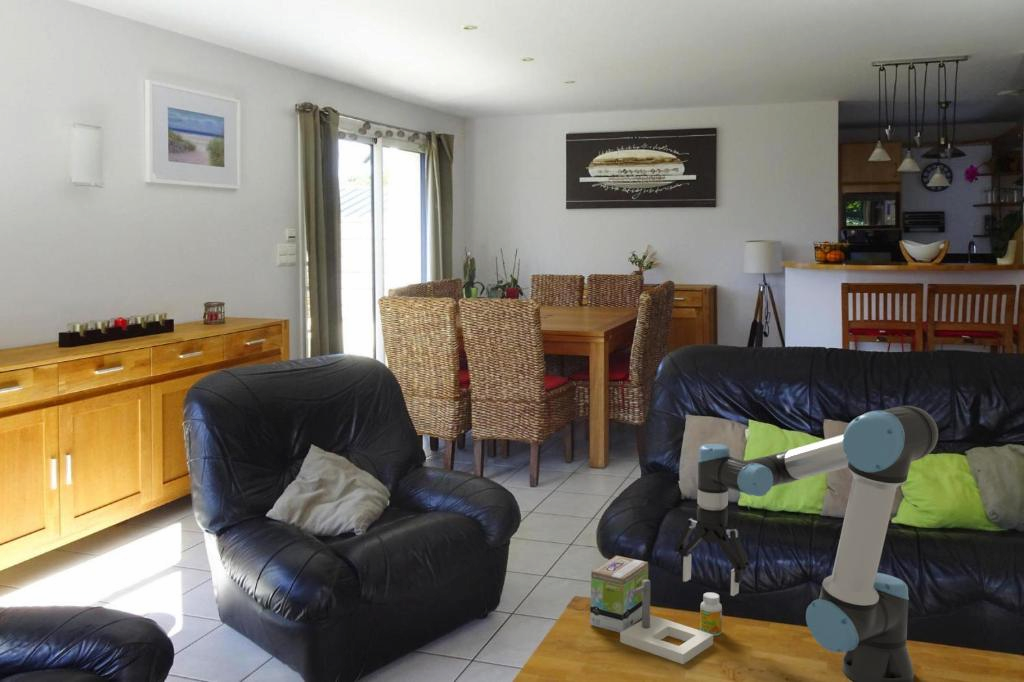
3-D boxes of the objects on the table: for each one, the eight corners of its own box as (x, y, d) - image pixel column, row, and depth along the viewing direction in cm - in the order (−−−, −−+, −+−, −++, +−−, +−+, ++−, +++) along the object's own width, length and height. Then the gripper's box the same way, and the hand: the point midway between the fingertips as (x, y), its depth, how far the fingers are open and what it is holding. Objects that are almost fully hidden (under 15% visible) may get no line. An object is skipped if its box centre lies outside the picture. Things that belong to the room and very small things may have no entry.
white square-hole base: (712, 644, 218) (713, 587, 217) (683, 664, 208) (683, 605, 206) (651, 624, 230) (651, 570, 229) (620, 642, 220) (620, 586, 218)
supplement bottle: (698, 634, 224) (698, 597, 223) (701, 626, 229) (702, 590, 228) (719, 637, 222) (720, 600, 221) (723, 629, 227) (723, 592, 226)
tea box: (624, 634, 224) (624, 578, 223) (589, 625, 230) (589, 570, 228) (648, 613, 237) (649, 560, 235) (614, 606, 242) (615, 553, 241)
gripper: (765, 512, 216) (762, 595, 219) (677, 493, 233) (675, 570, 235) (751, 519, 211) (748, 605, 213) (662, 499, 227) (660, 578, 230)
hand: (710, 587), depth 224 cm, fingers open, 13 cm apart
